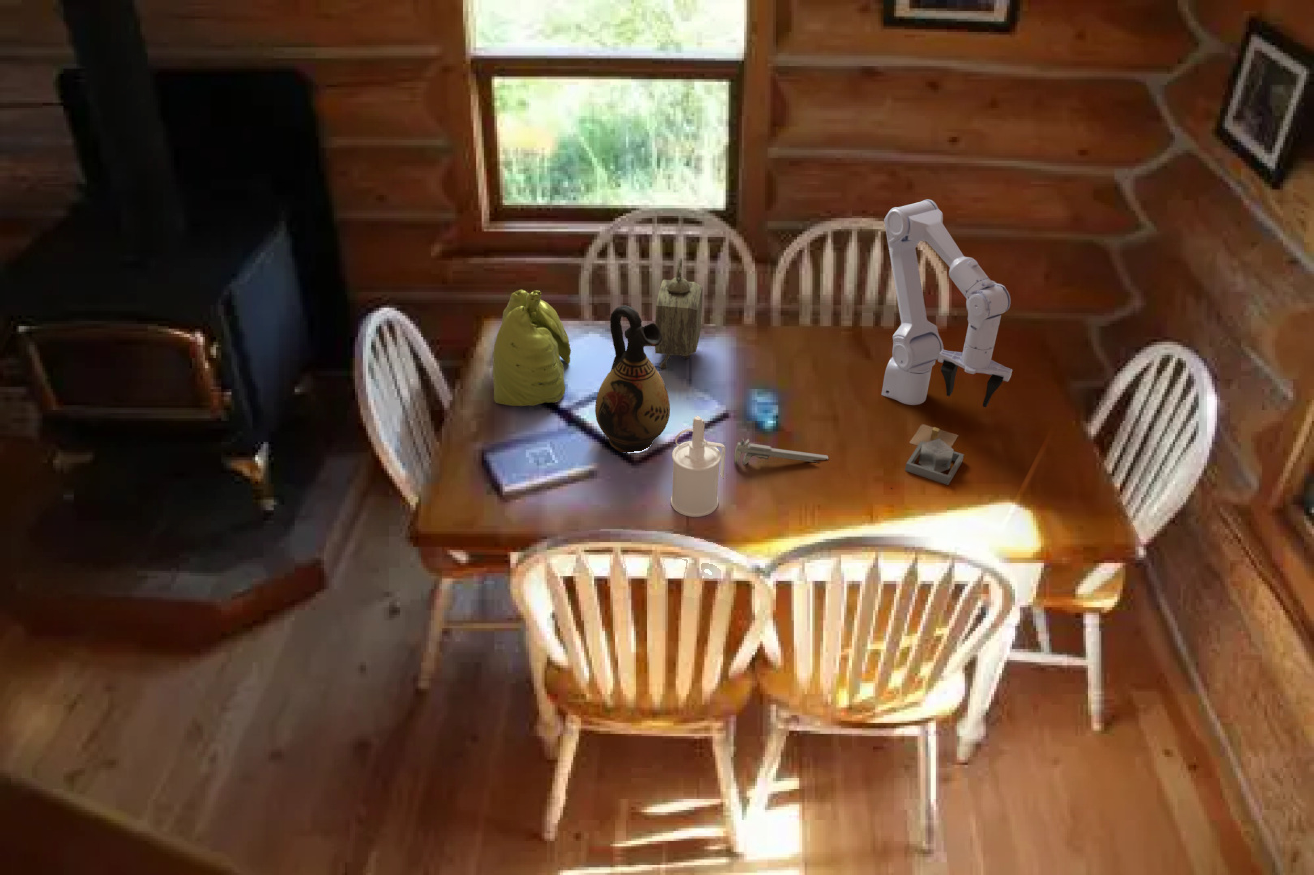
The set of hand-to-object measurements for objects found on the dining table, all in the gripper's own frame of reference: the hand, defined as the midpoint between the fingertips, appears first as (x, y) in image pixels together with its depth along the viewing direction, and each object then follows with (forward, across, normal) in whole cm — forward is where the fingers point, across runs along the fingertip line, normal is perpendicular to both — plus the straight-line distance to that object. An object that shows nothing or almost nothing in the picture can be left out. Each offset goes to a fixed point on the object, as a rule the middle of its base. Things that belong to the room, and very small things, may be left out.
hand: (967, 399), depth 229 cm
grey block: (+9, -1, -14) cm, 17 cm away
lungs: (+10, -88, -30) cm, 94 cm away
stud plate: (+9, -4, -5) cm, 11 cm away
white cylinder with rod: (+10, -37, -48) cm, 61 cm away
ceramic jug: (+10, -59, -37) cm, 70 cm away
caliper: (+10, -28, -28) cm, 41 cm away
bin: (+9, -1, -14) cm, 17 cm away
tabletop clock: (+10, -66, -4) cm, 67 cm away
